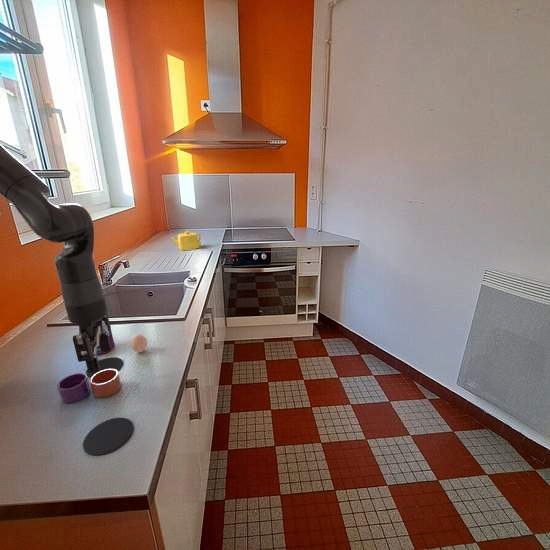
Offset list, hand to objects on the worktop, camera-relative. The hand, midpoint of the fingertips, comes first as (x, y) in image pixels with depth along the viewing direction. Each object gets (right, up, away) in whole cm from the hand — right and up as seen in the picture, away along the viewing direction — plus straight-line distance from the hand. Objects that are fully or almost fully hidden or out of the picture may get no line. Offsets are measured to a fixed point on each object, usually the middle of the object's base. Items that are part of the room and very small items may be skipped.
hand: (100, 360), depth 71 cm
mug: (-12, -2, +22) cm, 25 cm away
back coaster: (-5, -5, +11) cm, 14 cm away
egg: (+1, -3, +18) cm, 19 cm away
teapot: (-20, +39, +140) cm, 147 cm away
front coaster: (+8, -12, -10) cm, 18 cm away
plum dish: (-7, -9, +1) cm, 11 cm away
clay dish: (0, -8, +3) cm, 9 cm away
